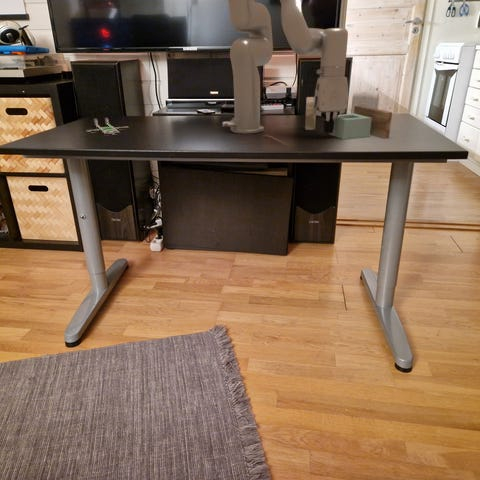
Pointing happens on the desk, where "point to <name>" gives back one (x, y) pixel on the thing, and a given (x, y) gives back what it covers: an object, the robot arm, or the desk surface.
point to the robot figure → (106, 128)
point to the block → (351, 126)
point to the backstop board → (376, 120)
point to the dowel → (310, 114)
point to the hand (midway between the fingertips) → (328, 132)
